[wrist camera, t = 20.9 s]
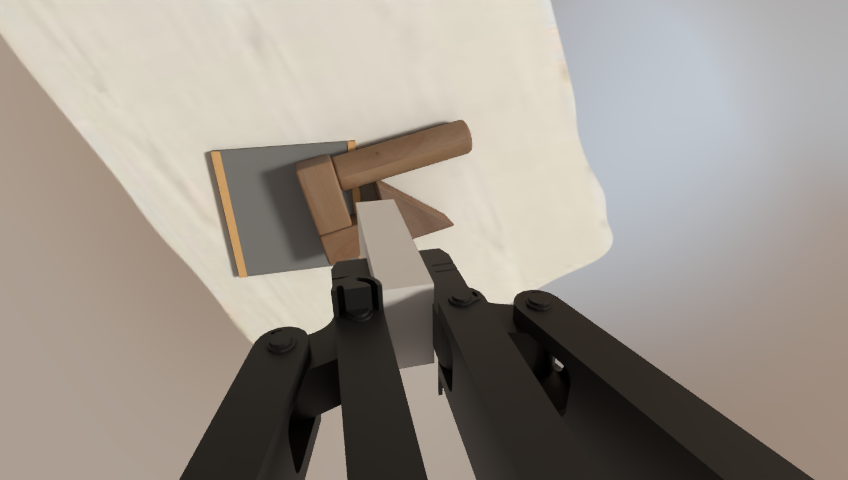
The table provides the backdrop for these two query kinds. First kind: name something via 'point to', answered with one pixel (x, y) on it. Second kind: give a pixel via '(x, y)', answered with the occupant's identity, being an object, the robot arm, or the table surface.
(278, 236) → the mat
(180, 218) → the table surface
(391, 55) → the table surface
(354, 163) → the wooden block assembly
